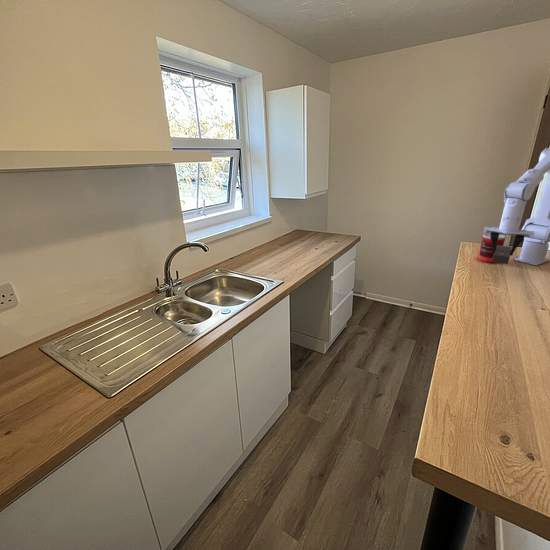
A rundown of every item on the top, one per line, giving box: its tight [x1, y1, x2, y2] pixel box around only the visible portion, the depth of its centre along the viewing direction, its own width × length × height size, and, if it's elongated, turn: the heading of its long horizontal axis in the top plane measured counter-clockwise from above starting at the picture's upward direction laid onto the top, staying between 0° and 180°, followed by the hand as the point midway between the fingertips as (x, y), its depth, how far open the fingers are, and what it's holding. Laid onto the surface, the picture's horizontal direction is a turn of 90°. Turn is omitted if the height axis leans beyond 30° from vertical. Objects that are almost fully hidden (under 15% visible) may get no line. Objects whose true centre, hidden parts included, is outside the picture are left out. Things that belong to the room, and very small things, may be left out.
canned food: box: [477, 233, 506, 264], centre depth 127 cm, size 8×8×11 cm
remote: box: [492, 245, 513, 265], centre depth 112 cm, size 14×5×3 cm, turn 142°
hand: (502, 253), depth 112 cm, fingers closed on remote, 4 cm apart
